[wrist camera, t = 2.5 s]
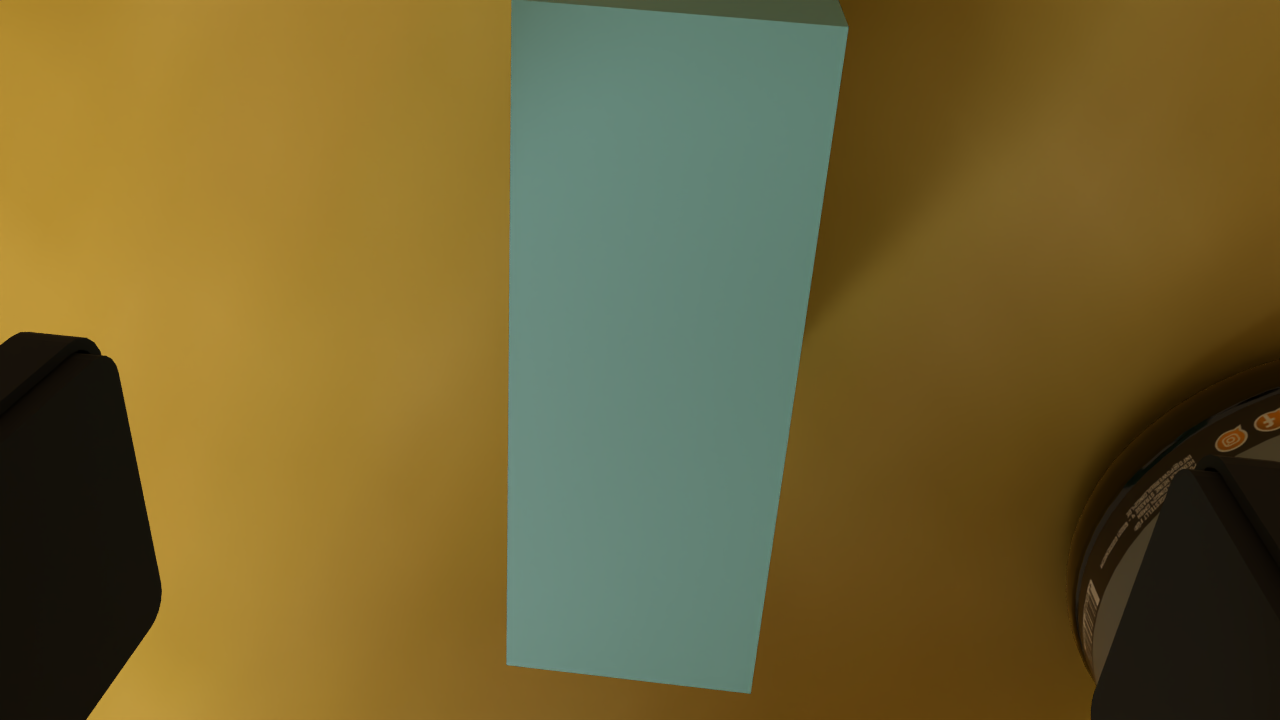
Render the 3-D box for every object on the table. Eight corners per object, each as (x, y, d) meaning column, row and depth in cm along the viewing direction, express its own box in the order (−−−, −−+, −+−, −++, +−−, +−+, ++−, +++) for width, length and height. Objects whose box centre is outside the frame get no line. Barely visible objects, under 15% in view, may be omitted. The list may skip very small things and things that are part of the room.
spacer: (753, 388, 23) (750, 693, 15) (591, 372, 24) (506, 665, 16) (811, -71, 19) (848, 27, 11) (614, -85, 19) (512, -1, 11)
